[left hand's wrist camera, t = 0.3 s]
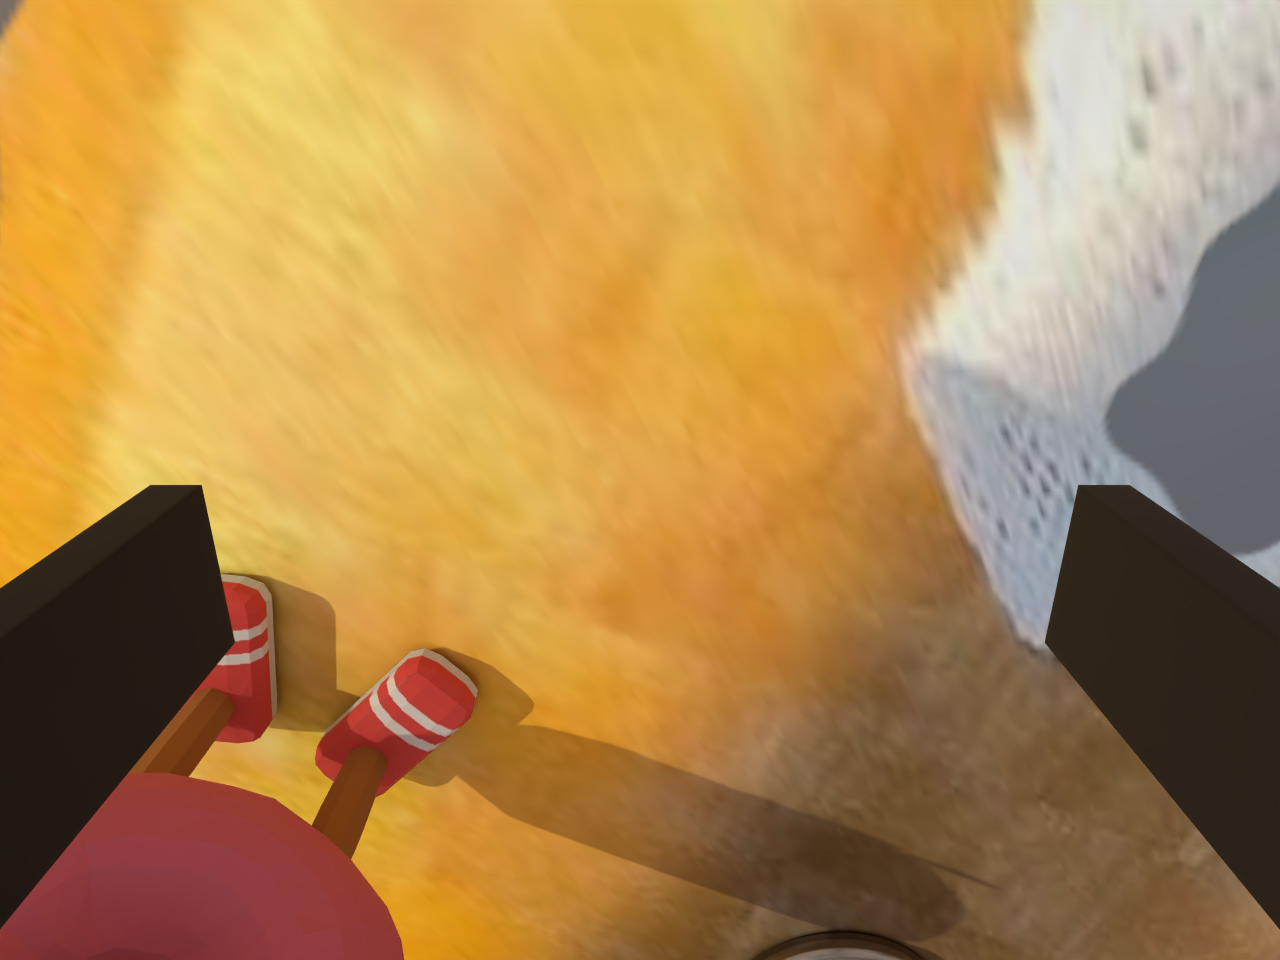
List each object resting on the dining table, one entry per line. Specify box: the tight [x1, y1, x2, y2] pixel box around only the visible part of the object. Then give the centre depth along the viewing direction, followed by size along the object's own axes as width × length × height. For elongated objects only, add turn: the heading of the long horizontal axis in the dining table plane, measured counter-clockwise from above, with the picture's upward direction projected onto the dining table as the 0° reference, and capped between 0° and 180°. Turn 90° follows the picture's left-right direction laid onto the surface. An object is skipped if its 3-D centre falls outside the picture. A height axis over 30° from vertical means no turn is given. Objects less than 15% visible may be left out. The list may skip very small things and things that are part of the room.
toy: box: [0, 574, 478, 960], centre depth 33 cm, size 21×10×30 cm, turn 64°
